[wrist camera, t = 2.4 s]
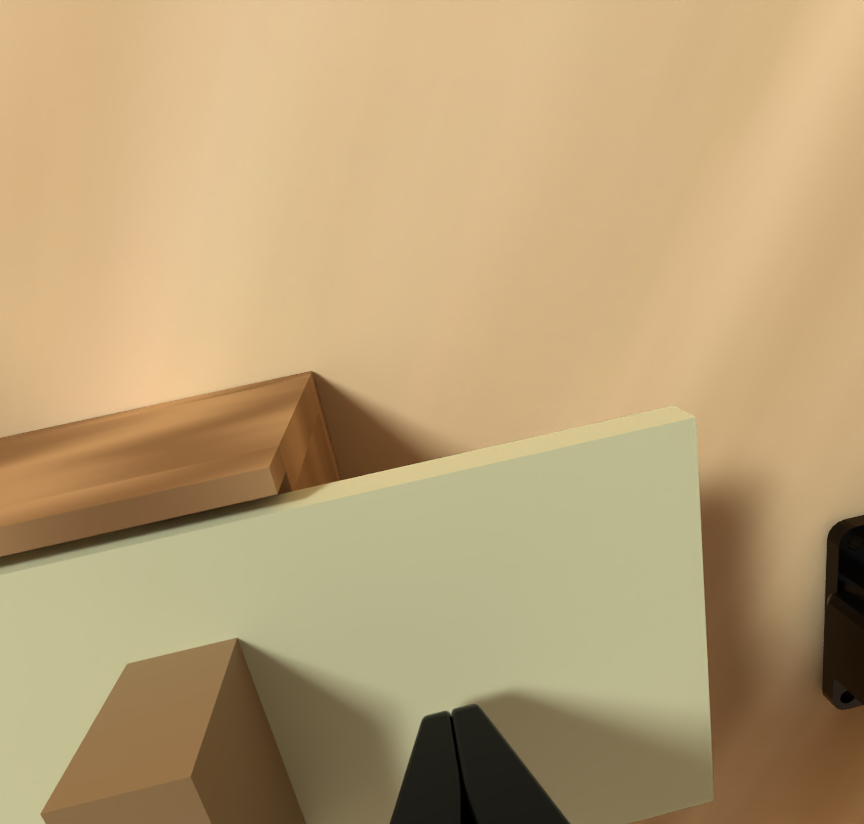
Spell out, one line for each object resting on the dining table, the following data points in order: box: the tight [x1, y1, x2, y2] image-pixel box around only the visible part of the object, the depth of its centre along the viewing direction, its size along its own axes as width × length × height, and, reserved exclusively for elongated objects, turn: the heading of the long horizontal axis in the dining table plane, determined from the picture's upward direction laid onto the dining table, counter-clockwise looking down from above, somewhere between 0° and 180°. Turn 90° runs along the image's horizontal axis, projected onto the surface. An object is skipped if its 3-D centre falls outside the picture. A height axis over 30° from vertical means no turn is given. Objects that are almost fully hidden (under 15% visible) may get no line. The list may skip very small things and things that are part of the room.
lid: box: [0, 405, 714, 824], centre depth 8 cm, size 15×8×3 cm, turn 102°
